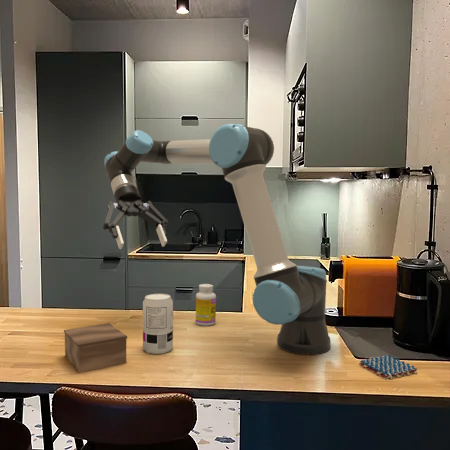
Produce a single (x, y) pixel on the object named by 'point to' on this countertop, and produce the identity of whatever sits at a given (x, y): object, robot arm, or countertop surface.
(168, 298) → the supplement can
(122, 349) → the walnut tea box
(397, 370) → the woven mat
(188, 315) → the countertop surface
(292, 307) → the robot arm
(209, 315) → the supplement bottle
